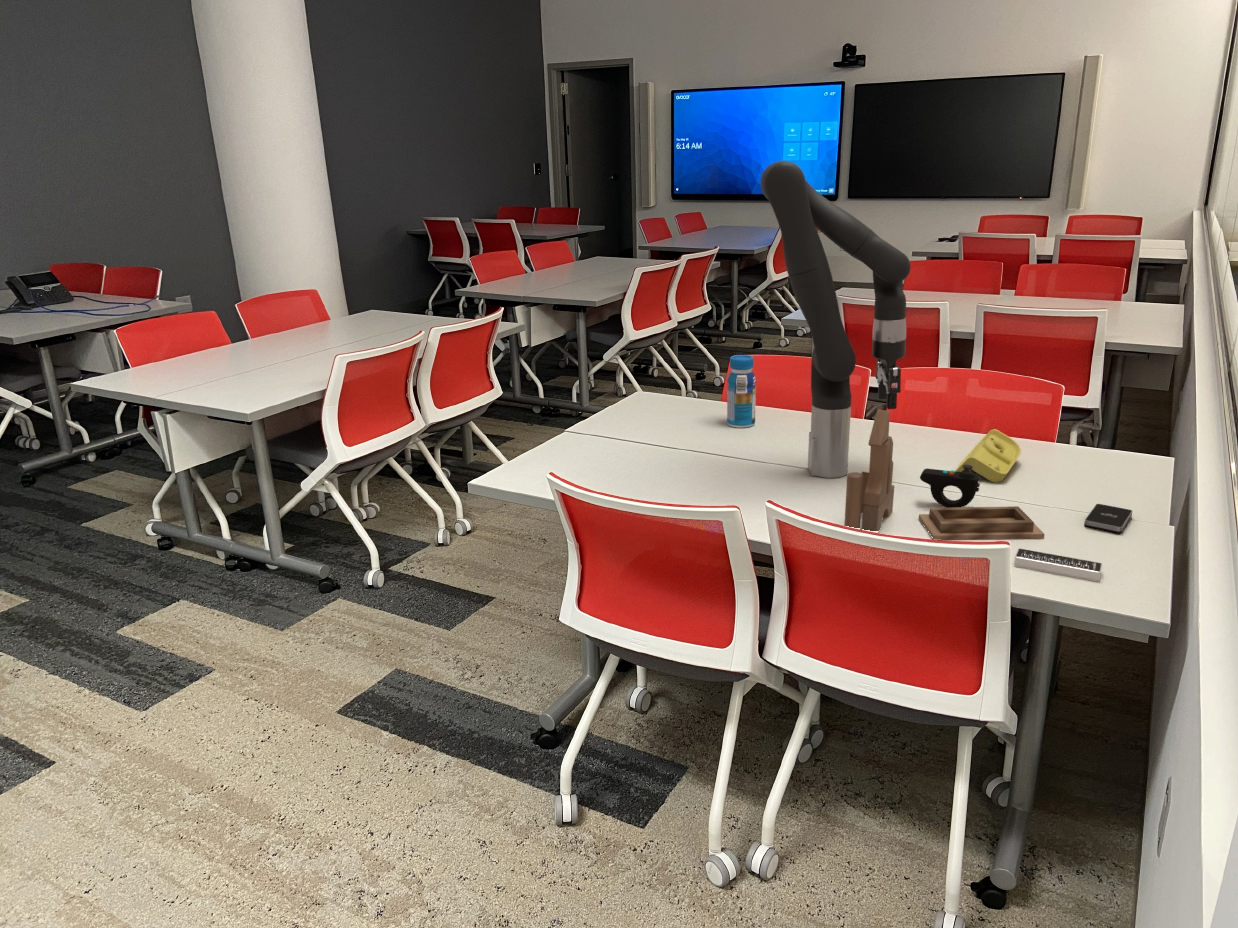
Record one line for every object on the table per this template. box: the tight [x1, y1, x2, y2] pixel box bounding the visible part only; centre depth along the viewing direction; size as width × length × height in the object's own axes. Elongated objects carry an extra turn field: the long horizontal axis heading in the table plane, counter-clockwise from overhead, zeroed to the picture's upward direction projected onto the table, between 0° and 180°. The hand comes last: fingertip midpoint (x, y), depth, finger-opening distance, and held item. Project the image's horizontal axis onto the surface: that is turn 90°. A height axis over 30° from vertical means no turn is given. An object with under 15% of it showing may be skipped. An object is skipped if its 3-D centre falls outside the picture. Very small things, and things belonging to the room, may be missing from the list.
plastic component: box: [954, 428, 1022, 483], centre depth 216 cm, size 20×7×10 cm
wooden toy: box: [844, 409, 895, 532], centre depth 185 cm, size 16×7×25 cm, turn 150°
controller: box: [919, 465, 981, 508], centre depth 194 cm, size 4×12×10 cm, turn 62°
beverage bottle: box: [726, 354, 757, 429], centre depth 254 cm, size 8×8×20 cm
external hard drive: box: [1083, 503, 1133, 535], centre depth 184 cm, size 7×11×2 cm, turn 141°
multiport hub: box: [1013, 548, 1103, 583], centre depth 165 cm, size 4×14×2 cm, turn 59°
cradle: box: [918, 506, 1045, 541], centre depth 183 cm, size 22×11×3 cm, turn 87°
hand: (887, 403), depth 212 cm, fingers open, 8 cm apart
